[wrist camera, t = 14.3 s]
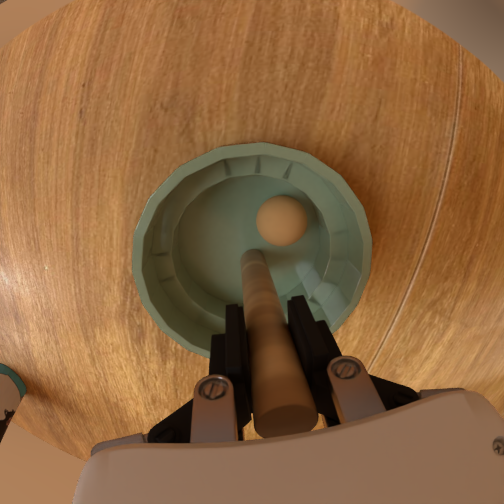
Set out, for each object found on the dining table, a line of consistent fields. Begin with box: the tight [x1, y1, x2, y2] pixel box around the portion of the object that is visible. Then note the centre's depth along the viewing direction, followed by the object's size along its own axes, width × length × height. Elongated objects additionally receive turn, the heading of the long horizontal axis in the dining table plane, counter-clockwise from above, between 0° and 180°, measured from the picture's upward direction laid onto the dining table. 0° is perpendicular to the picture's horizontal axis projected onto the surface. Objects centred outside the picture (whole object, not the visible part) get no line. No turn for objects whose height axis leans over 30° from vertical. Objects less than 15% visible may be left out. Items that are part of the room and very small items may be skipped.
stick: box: [240, 249, 319, 438], centre depth 15 cm, size 2×2×16 cm
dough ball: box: [256, 195, 307, 246], centre depth 20 cm, size 4×4×4 cm
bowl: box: [132, 142, 373, 359], centre depth 20 cm, size 15×15×6 cm
